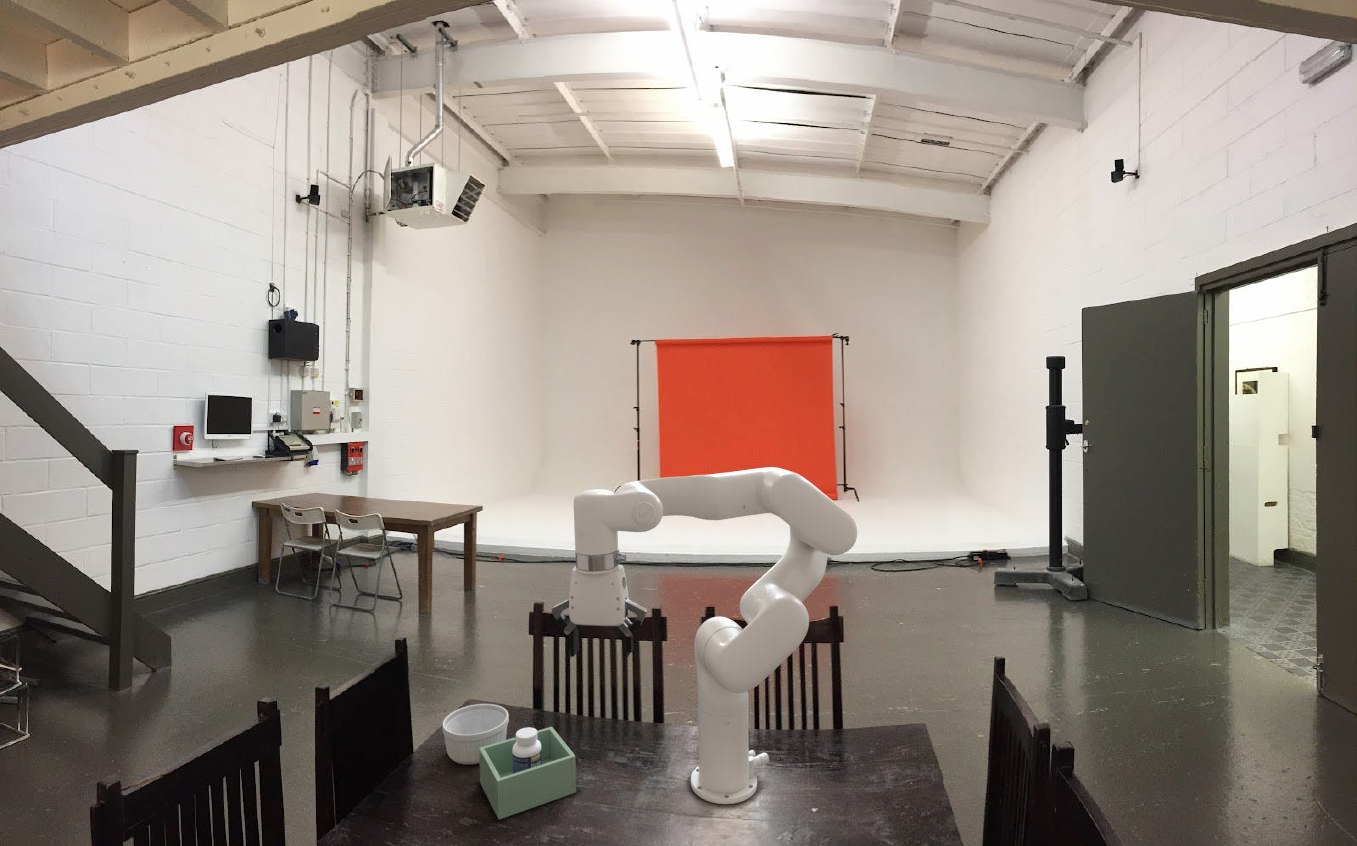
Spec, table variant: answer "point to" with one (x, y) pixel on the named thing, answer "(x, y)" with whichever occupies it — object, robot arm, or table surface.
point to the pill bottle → (526, 750)
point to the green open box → (527, 775)
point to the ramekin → (473, 731)
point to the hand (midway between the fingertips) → (600, 654)
